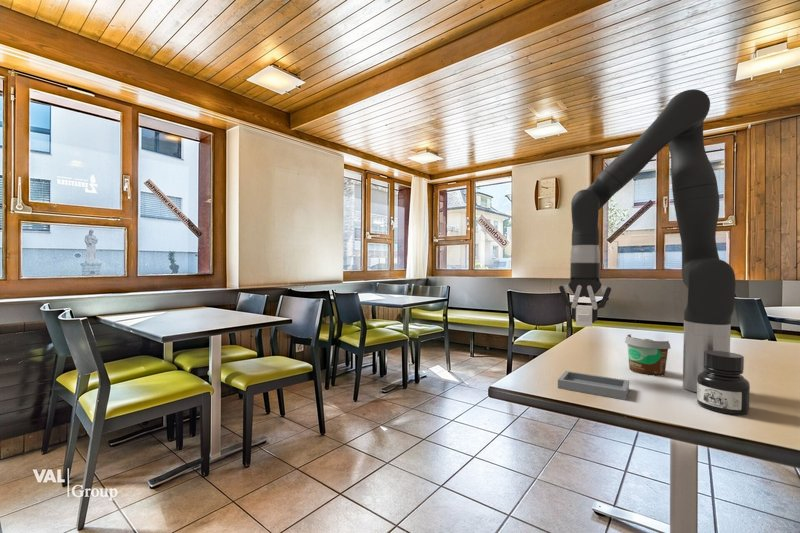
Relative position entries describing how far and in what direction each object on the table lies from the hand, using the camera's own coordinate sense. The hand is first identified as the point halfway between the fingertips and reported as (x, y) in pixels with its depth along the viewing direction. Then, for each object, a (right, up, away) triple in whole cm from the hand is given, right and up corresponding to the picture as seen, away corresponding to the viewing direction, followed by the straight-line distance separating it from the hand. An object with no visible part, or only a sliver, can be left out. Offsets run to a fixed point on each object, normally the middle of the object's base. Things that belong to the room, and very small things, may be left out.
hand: (584, 321), depth 110 cm
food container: (+18, -16, +3) cm, 24 cm away
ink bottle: (+19, -16, -25) cm, 35 cm away
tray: (-3, -15, -12) cm, 20 cm away
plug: (0, -1, -1) cm, 1 cm away
